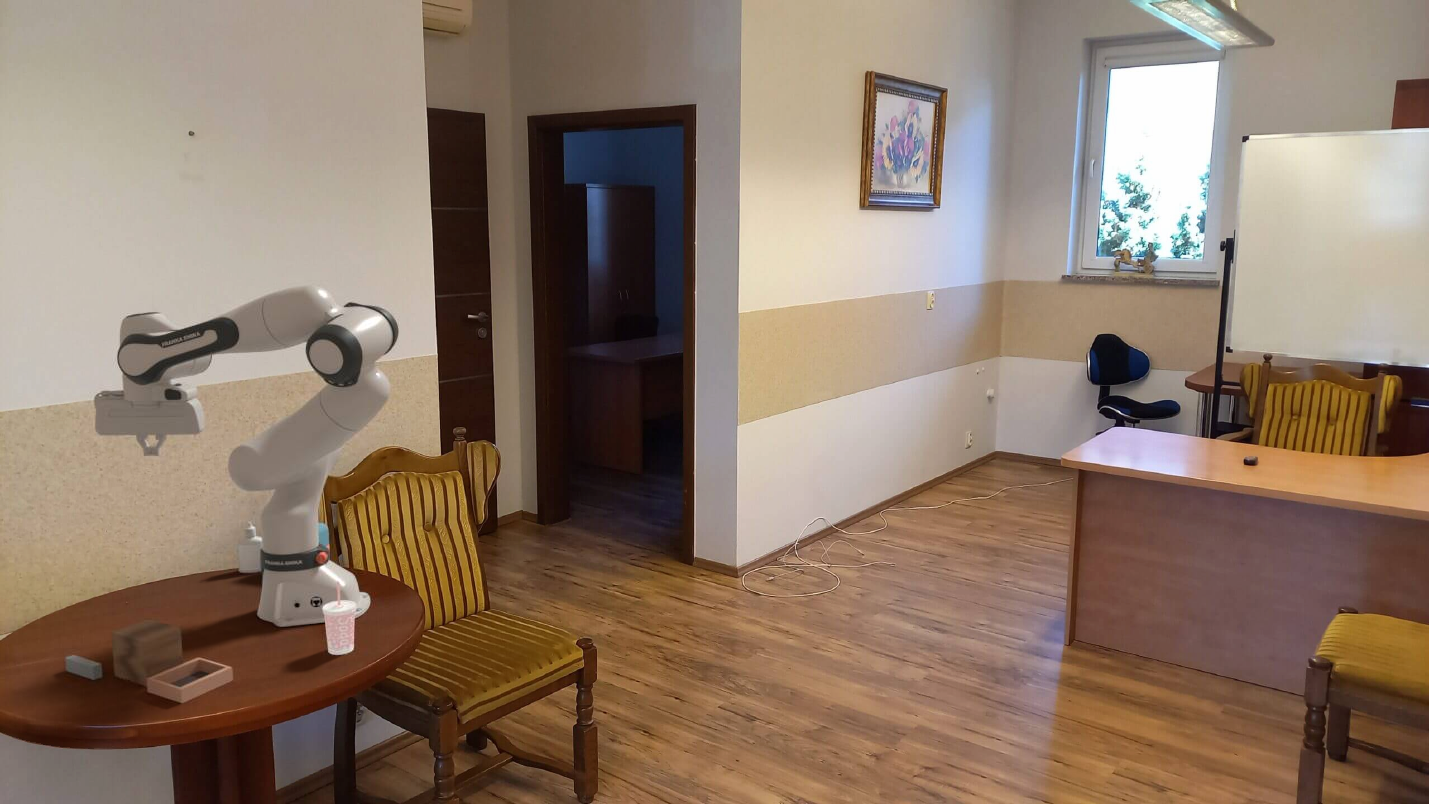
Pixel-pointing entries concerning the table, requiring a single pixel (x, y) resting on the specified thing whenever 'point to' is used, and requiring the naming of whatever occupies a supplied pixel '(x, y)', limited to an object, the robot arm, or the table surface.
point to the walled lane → (83, 667)
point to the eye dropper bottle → (249, 551)
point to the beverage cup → (339, 625)
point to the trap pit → (189, 680)
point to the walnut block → (146, 650)
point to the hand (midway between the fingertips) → (152, 455)
